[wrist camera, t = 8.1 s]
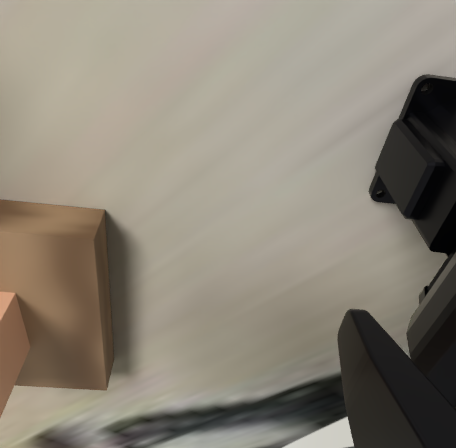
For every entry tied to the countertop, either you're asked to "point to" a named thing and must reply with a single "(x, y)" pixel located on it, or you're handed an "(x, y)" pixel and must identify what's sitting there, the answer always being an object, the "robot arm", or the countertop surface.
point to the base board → (59, 292)
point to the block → (11, 345)
